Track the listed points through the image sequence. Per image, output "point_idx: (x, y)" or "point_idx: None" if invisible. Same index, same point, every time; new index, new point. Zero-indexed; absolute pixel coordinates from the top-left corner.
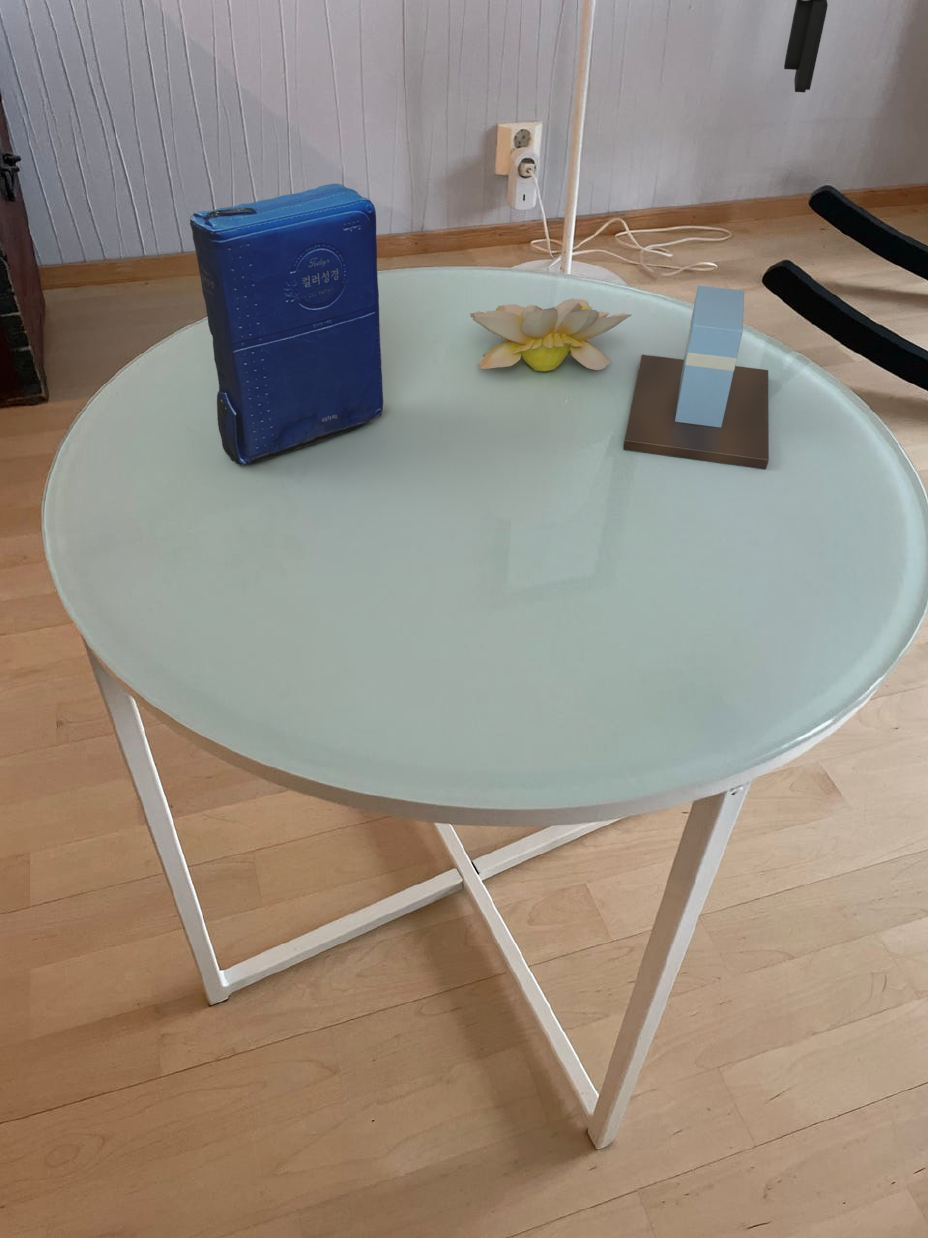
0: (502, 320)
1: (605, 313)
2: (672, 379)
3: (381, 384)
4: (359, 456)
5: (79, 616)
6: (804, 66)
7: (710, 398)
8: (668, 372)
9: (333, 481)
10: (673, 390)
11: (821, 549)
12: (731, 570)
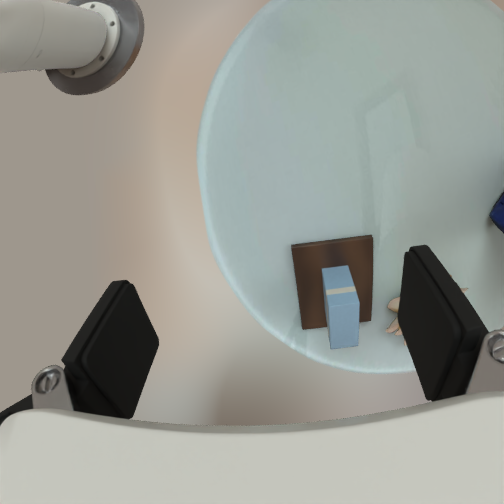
0: None
1: (396, 334)
2: None
3: (498, 222)
4: (490, 181)
5: None
6: (433, 262)
7: (333, 277)
8: None
9: (495, 156)
10: None
11: (250, 182)
12: (294, 144)
